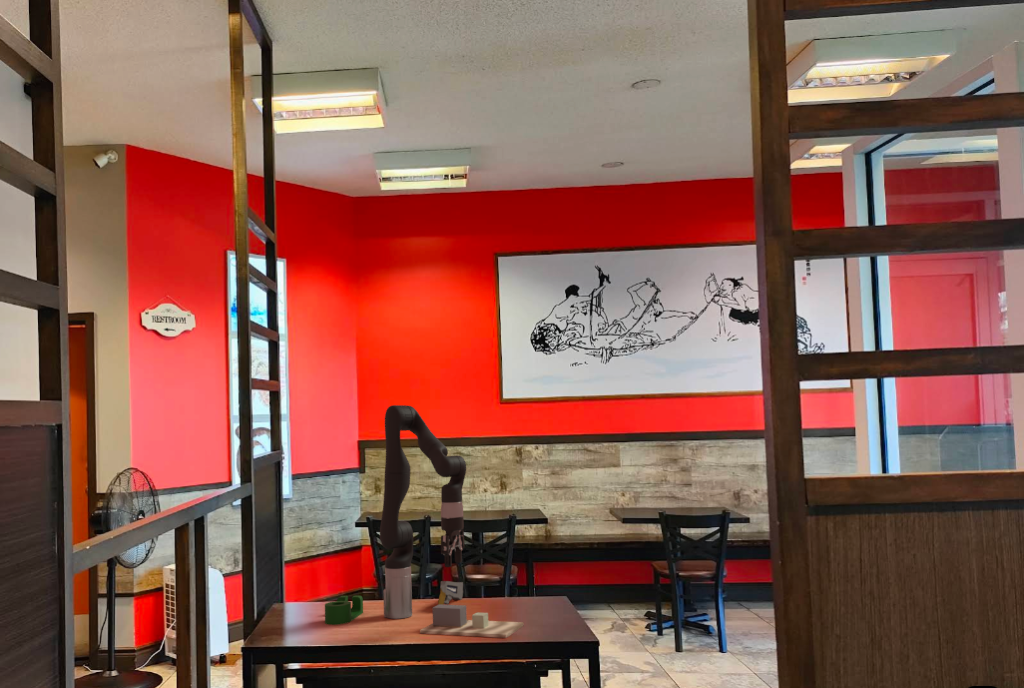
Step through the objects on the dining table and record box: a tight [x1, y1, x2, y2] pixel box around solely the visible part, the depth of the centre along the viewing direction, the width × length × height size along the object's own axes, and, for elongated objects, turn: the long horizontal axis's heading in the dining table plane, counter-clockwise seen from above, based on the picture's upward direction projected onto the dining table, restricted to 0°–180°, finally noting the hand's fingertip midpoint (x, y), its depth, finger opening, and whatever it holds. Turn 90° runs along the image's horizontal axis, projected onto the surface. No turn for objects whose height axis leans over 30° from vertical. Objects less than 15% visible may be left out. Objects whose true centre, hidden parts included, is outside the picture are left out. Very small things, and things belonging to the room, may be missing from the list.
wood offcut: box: [471, 612, 489, 628], centre depth 258 cm, size 4×4×4 cm
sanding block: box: [431, 604, 468, 628], centre depth 262 cm, size 10×5×6 cm, turn 70°
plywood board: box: [419, 619, 524, 639], centre depth 259 cm, size 30×16×1 cm, turn 70°
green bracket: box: [324, 595, 364, 626], centre depth 283 cm, size 18×9×6 cm, turn 172°
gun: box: [437, 580, 464, 605], centre depth 300 cm, size 3×25×15 cm, turn 166°
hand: (453, 564), depth 265 cm, fingers open, 8 cm apart
